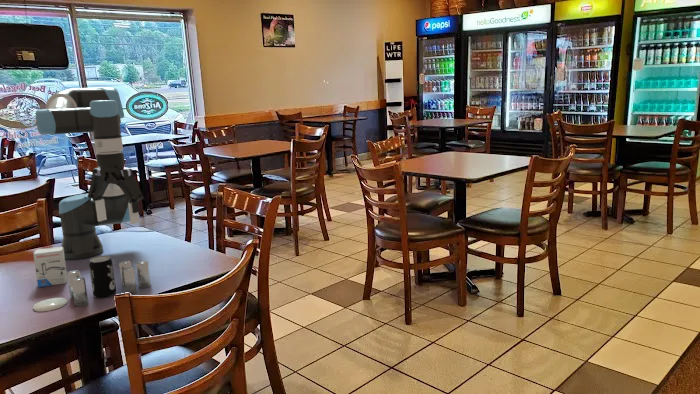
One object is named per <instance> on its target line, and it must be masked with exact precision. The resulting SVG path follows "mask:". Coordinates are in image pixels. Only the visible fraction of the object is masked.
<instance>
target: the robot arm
mask: <svg viewBox="0 0 700 394" xmlns="http://www.w3.org/2000/svg"><path fill="white" fill-rule="evenodd" d="M45 106H46V108H44V109H38V110H36V111H35V122H36V123H35V124H36V128H37V132H38V133H39V134H40V135H50V136H53V135H64V134H81V133H84V134H85V133H93V141H94V151H95V158H96V165H97V167H95V168H93V169H91V172H92V176H91V180H90V184H89V188H88V193H81V194H75V195H71V196H68V197H66V198H63V199H62V200H60V201H59V203H58V214H59V216H60V217H59V218H60V225H61V230H62V231H61V232H62V242H61V246H60V247H63V248H64V256H65V260H82V259H88V258H93V257H96V256H98V255H100V254H101V253H103V252H104V246H103V243H102V242H101V240H100V237H99V236H98V234H97V230H96V227H101V226H108V225H115V224H117V225H118V224H120V225H121V224H124V223H129V222H130V225H135V224H138V223H140V204H139V202H140V201H141V200H144V198H145V197H144V195H143V192H142V190H141V189H140V187H139V185H138V182H137V181H136V179H135V176H134V172H133V169H132V168H126V169H124V165H125V154H124V152H122V151H124V146H123V139H122V138H123V137H122V130H121V123H122V119H123V118H125V113H124V108H123V104H122V101H121V96H120V94H119V91H118V89H117V88H115V87H109V86H108V87H105V86H102V87H100V86H99V87H98V86H97V87H96V86H95V87H73V88H66V89H63V90H59V91H57V92H55V93H54V94H52V95H51V96H49V97H48V99H47V101H46V104H45Z"/></svg>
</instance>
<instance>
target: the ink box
mask: <svg viewBox="0 0 700 394" xmlns="http://www.w3.org/2000/svg"><path fill="white" fill-rule="evenodd" d="M33 261H34V267H35V269H34V270H35V276H36V282H37V287H38V288H43V287H48V286H49V287H50V286H56V285H64V284H66V283H67V282H68V276H67V273H68V271H67V264H66V259H65V256H64V248H63V247H61V246H56V247H47V248H38V249H35V250H34V251H33Z"/></svg>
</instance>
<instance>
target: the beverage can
mask: <svg viewBox="0 0 700 394" xmlns="http://www.w3.org/2000/svg"><path fill="white" fill-rule="evenodd" d="M89 261H90V262H89V264H88V268H89V273H90V281H91V288H92V295H93V296H94V297H95V298H97V299H105V298H109V297H111V296H113V295H115V293H116V291H117V288H116V287H117V286H116V280H115V279H116V278H115V272H114V264H113V261H112V259H111V256H109V255H99V256H98V255H97V256H93V257H91V258H90V259H89Z"/></svg>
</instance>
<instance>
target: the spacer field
mask: <svg viewBox="0 0 700 394" xmlns="http://www.w3.org/2000/svg"><path fill="white" fill-rule="evenodd" d="M118 265H119V274H120V282H121V287H122V288H123V290H124V291H123V292H124V293H125V292H130V293H131V294H132V295H131V296H134V295H136V294H137V293H138V290H137V284H138V288H139V289H146V287H147V288H149V287H151V276H150V268H149V262H148V261H147V260H143V261H142V260H141V261H138V262H136V263H135V266H136V272H135V268H134V267H132V261H131V260H123V261H119V262H118ZM135 273H137V274H135ZM136 275H137V281H136ZM67 278H68V279H67V282H68V289H69V295H70V299H73V300H74V306H75V307H76V308H77V307H78V308H79V307H85V306H87V305H89V297H88V292H87V291H88V290H87V284H86V278H85V277H83V276H81V270H78V269H76V270H75V269H74V270H70V271H67ZM137 282H138V283H137Z"/></svg>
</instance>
